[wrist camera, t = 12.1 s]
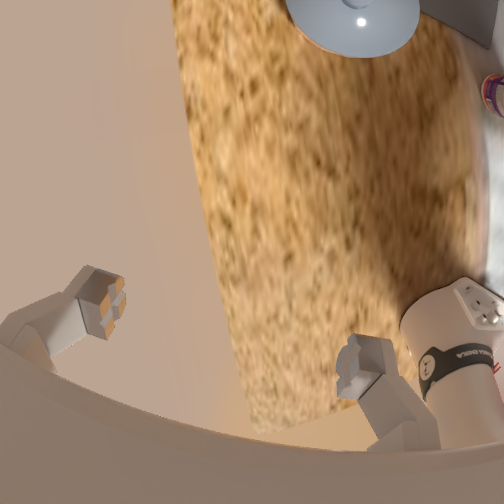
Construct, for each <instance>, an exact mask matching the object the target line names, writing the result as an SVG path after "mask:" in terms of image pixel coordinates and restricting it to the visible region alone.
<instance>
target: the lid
mask: <svg viewBox="0 0 504 504" xmlns="http://www.w3.org/2000/svg"><path fill="white" fill-rule="evenodd" d="M286 4H287V8H288V11H289V13H290V15H291V17H292V19H293V20H294V22H295V23H296V25H297V26H298V27H299V28H300V30H301V31H302V32H303V33H304V34H305V35H306V36H307V37H309V38H310V39H311V40H312V41H314V42H315V43H317V44H318V45H320V46H321V47H323V48H325V49H327V50H329V51H332V52H334V53H337V54H340V55H344V56H348V57H355V58H371V57H379V56H383V55H386V54H389V53H392V52H394V51H396V50H398V49H399V48H400V47H402V46H403V45H404V44H405V43H406V42H407V41H409V39H410V38H411V37H412V35H413V34H414V32H415V30H416V28H417V25H418V22H419V16H420V5H419V0H286Z"/></svg>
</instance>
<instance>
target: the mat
mask: <svg viewBox="0 0 504 504" xmlns="http://www.w3.org/2000/svg"><path fill="white" fill-rule="evenodd" d="M419 5H420V12H422V13H424V14H426V15H428V16H430V17H432V18H434V19H436V20H438V21H440V22H442V23H444V24H446V25H448V26H450V27H451V28H453V29H455V30H457V31H459V32H460V33H462V34H464V35H466V36H467V37H469V38H471V39H472V40H474V41H475V42H477V43H479V44H480V45H482V46H483V47H485V48H486V49H490V46H491V41H492V36H493V30H494V25H495V19H496V12H497V5H498V0H419Z"/></svg>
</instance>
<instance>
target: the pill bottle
mask: <svg viewBox="0 0 504 504" xmlns="http://www.w3.org/2000/svg"><path fill="white" fill-rule="evenodd" d="M481 94H482V99H483V102H484V104H485V106H486V107H487V108H488V109H489V110H490V111H491V112H492V113H494V114H496V115H499V116H501V117H503V118H504V75H500V74H491V75H488V76H487V77H486V78H485V79H484V81H483V83H482V87H481Z"/></svg>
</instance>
